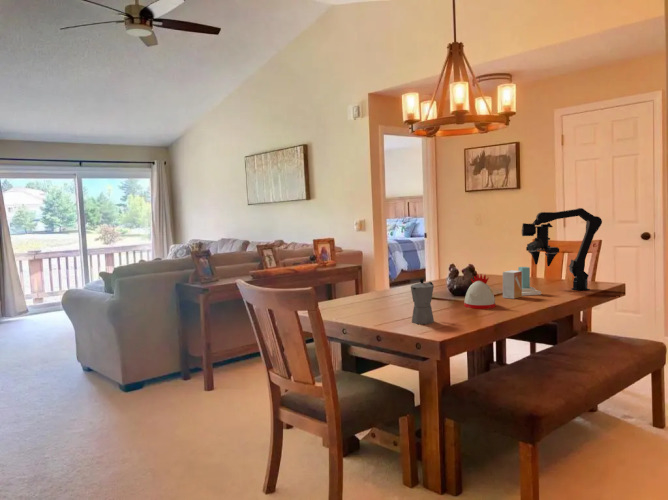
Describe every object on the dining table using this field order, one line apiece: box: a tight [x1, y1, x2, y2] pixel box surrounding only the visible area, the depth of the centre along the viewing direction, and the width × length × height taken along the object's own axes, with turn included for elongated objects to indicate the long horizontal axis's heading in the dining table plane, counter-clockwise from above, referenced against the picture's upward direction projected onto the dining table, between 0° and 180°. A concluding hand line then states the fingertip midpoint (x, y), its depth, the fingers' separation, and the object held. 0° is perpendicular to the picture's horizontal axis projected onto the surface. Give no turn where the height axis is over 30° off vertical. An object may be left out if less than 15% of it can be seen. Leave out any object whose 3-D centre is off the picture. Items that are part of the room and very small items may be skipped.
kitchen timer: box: [463, 273, 496, 310], centre depth 241 cm, size 14×14×15 cm
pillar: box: [517, 266, 531, 289], centre depth 269 cm, size 4×4×12 cm
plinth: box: [522, 286, 542, 297], centre depth 269 cm, size 12×12×3 cm
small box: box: [502, 269, 523, 300], centre depth 259 cm, size 8×6×13 cm
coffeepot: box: [410, 277, 435, 325], centre depth 214 cm, size 15×9×18 cm, turn 141°
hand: (542, 265), depth 277 cm, fingers open, 9 cm apart
